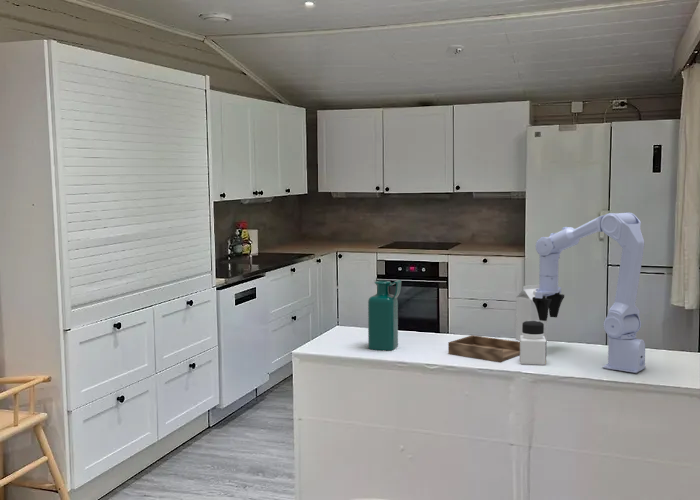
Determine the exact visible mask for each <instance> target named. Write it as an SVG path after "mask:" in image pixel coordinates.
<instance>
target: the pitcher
mask: <svg viewBox="0 0 700 500" xmlns="http://www.w3.org/2000/svg"><path fill="white" fill-rule="evenodd" d="M374 284H375V285H376V289H377V290H376V294H373V295H371V296H370V297H369V298H368V300H367V327H368V330H367V333H368V335H367V336H368V337H367V341H368V342H367V343H368V345H367V347H368V349H369V350H373V351H383V350H386V352H387V351H389V352H390V350H391V351H393V350H395V349H396V348H398V346H399V326H398V325H399V315H398V314H399V313H398V312H399V309H398V308H399V302H398V297H399V295H400V293H401V289H402V280H400V279H397V280H395V281H393V282H391V281H390V280H376V281H374ZM393 285H395V293H394V294H390V291H389V287H391V286H393Z"/></svg>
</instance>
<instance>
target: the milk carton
mask: <svg viewBox="0 0 700 500" xmlns="http://www.w3.org/2000/svg"><path fill="white" fill-rule="evenodd" d="M522 288H523V289H522V291H520V292H519V293H518V294H517V296H516V299H515V300H516V302H515V303H516V305H515V311H516V312H515V315H516V316H515V321H516V322H515V324H516V325H515V341H516V340H517V341H518V342H520V336H521V335H522V324H523V322H525V321H540V322H542V323H543V324H544V337H545V339H546V342H547V341H548V340H547V339H548V320H547V321H541V320H539V316H538V312H537V308H536V306H535V304H534V302H533V300H532V298H533V297H535V292H537V291H536V289H537V288H539V284H534V285H533V284H532V285H523V287H522Z"/></svg>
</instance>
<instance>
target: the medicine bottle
mask: <svg viewBox="0 0 700 500" xmlns="http://www.w3.org/2000/svg"><path fill="white" fill-rule="evenodd" d="M519 342H520V355H519V360H520V361H519V362H520V364H521V365H535V366H546V365H547V341H546V339H545V337H544V324H543V323H542V322H540V321H525V322H523V324H522V335H521V336H520V341H519Z"/></svg>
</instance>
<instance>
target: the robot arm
mask: <svg viewBox="0 0 700 500" xmlns="http://www.w3.org/2000/svg"><path fill="white" fill-rule="evenodd" d="M641 227H642V222H641V220H640V219H639V218H638V217H637V215H636V214H635V213H632V212H628V211H626V212H620V213H619V212H615V213H614V212H609V213H605V214H603V215H599V216H597V217H596V218H593V219H592V220H590V221H587V222H585V223H584V224H581V225H580V226H578V227H576V228H574V227H572V226H569V227H568V226H564V227H562V228H561V230H560V231H556V232H552V233H550V234H549V236H541V237H540V238H538V239H537V240H536V242H535V251H536V253H537V254H538V255H539V258H538V259H539V260H538V261H539V263H538V264H539V265H538V266H539V267H538V268H539V272H538V273H539V274H538V275H539V277H538V279H539V280H538V285H539V288H537V289H536V291H537V292H535V297H533V298H532V300H533V302H534V304H535V306H536V308H537V312H538V316H539V320H541V321H547V322H548V316H549V317H550V318H558V316H559V311H560V308H561V305H562V303H563V300H564V299H565V294H563V293H562V286H561V287H560V286H559V261H560V259H561V258H560V256H561V253H562V252H563V251H565V250H568V249H569V248H572V247H574V246H577V245H578V244H579V242H580V240H581V239H583V238H585V237H588V236H591V235H594V234H596V233H599V232H600V233H602V232H603V233H604V234H605V235H606V236H608V237H610V238H611V239H613V240H614V241H616V242H617V244H618V245H619V246H620V247H621V249H622V250H621V254H620V255H621V257H620V264H619V269H618V270H619V271H618V276H617V282H616V283H617V284H616V290H615V296H614V297H615V298H614V303H613V304H611V306H610V308H609V309H608V313H607V315H606V317H605V319H604V321H603V329H604V332H605V333H606V334H607V338H608V340H607V341H608V346H607V347H608V352H607V353H608V356H607V364H604V365H602V368H603V369H607V370H614V371H620V372H627V373H634V374H637V373H639V372H641V371H643V370H644V369H646V368H647V367H646V343H645V341H644V339H640V338H638V337H637V333H638V332H639V330H640V329H641V328H642V327H641V326H642V321H641V318H640V313H641V311H640V309H639V308H638V306H636V305H637V304H636V301H637V297H638V296H637V295H638V288H639V282H640V277H641V270H642V263H643V258H644V257H643V256H644V249H645V239H644V237H643V234H642V230H641Z"/></svg>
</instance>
